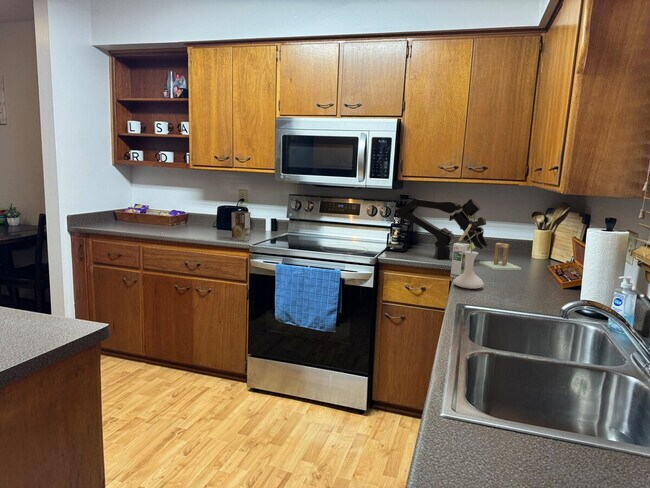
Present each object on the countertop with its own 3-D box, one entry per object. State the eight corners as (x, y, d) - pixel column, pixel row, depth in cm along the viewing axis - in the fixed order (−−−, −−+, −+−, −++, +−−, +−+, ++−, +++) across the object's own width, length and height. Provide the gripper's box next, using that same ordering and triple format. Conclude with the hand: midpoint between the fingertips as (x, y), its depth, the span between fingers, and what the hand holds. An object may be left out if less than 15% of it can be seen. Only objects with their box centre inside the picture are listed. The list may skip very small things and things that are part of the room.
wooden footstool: (493, 264, 219) (495, 244, 217) (495, 263, 223) (497, 242, 222) (504, 266, 217) (506, 245, 215) (506, 264, 221) (508, 244, 219)
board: (493, 269, 212) (493, 267, 212) (479, 263, 226) (479, 261, 226) (521, 270, 214) (521, 268, 214) (505, 263, 228) (506, 261, 228)
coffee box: (250, 239, 267) (251, 212, 265) (244, 241, 262) (245, 213, 259) (237, 238, 271) (237, 211, 268) (231, 239, 265) (231, 211, 262)
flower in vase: (461, 281, 187) (467, 220, 183) (488, 287, 179) (495, 224, 175) (445, 287, 178) (451, 222, 173) (472, 293, 170) (479, 226, 166)
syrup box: (449, 277, 194) (452, 243, 192) (457, 275, 199) (460, 242, 196) (462, 279, 190) (465, 245, 188) (469, 277, 195) (472, 244, 192)
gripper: (472, 213, 215) (494, 239, 211) (481, 210, 230) (502, 235, 227) (453, 227, 220) (474, 253, 216) (464, 224, 236) (483, 248, 232)
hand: (484, 247), depth 223 cm, fingers open, 9 cm apart
